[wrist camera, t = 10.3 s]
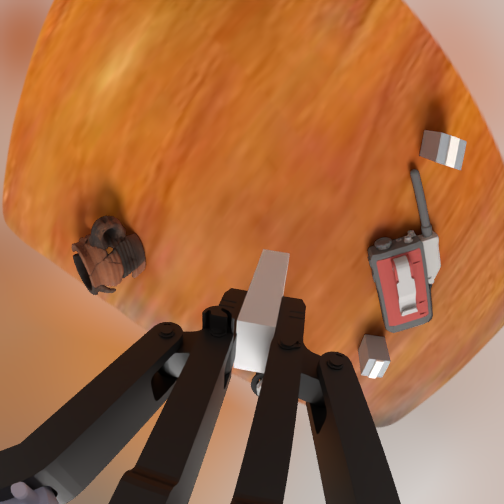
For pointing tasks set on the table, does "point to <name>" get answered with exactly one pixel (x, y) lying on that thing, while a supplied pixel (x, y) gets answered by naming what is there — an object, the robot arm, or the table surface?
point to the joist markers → (440, 151)
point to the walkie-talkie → (406, 271)
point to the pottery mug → (108, 255)
